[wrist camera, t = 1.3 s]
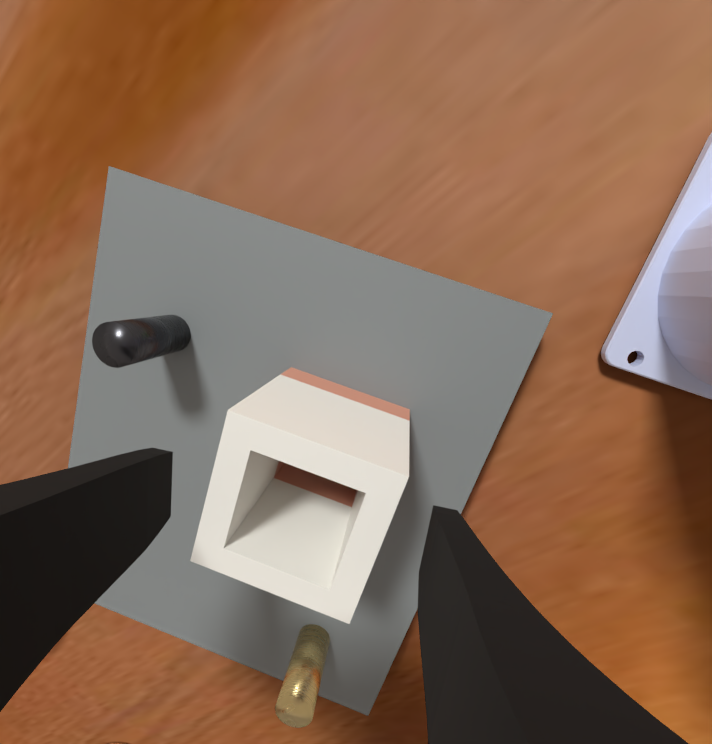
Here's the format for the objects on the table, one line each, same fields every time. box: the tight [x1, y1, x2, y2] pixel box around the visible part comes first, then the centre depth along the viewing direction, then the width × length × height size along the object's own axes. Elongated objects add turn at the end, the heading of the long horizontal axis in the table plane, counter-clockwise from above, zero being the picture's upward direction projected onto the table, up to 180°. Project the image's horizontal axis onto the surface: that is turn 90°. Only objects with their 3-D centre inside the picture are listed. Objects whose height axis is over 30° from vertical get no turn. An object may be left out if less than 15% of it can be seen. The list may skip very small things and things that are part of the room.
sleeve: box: [190, 367, 410, 624], centre depth 12 cm, size 5×5×5 cm
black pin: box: [92, 315, 191, 368], centre depth 13 cm, size 1×1×3 cm
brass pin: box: [275, 624, 330, 728], centre depth 15 cm, size 1×1×3 cm
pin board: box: [68, 166, 553, 716], centre depth 16 cm, size 16×19×2 cm
